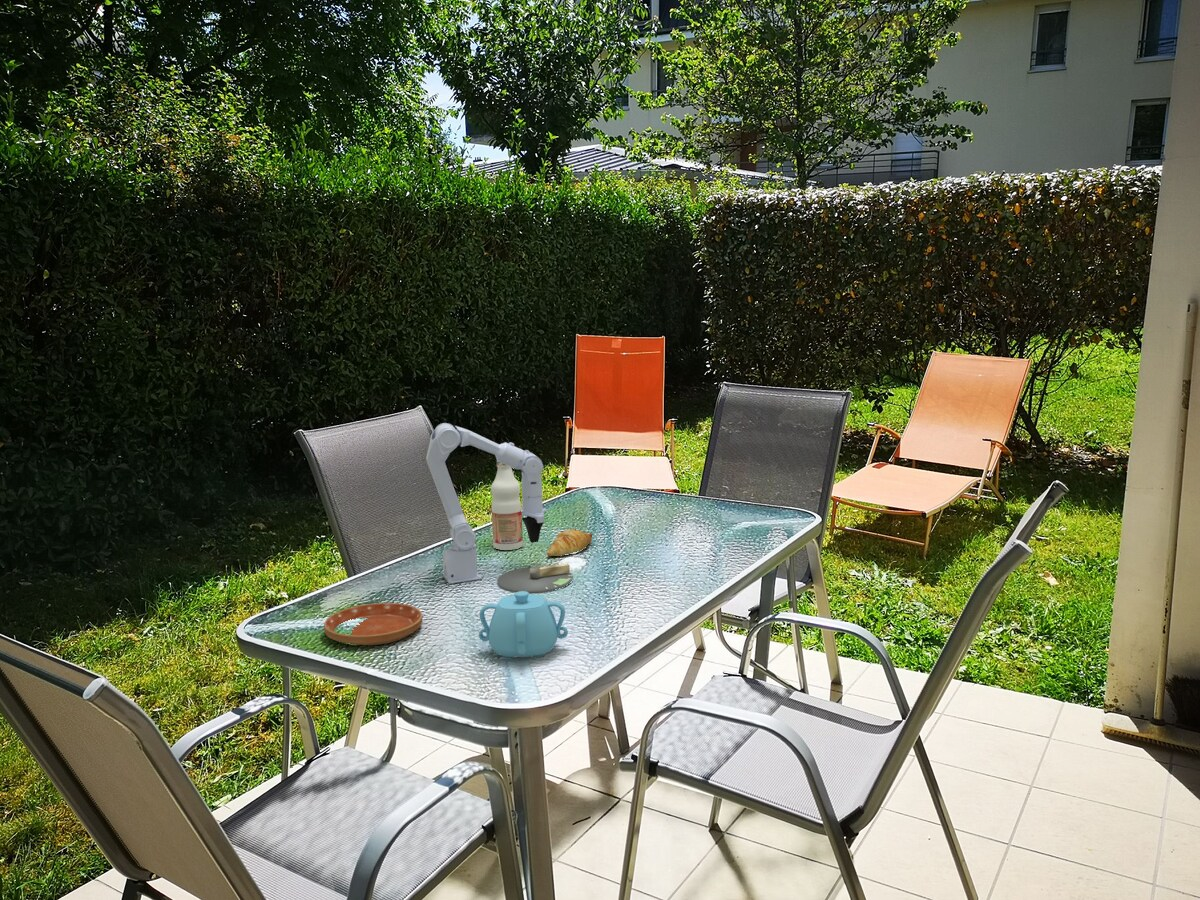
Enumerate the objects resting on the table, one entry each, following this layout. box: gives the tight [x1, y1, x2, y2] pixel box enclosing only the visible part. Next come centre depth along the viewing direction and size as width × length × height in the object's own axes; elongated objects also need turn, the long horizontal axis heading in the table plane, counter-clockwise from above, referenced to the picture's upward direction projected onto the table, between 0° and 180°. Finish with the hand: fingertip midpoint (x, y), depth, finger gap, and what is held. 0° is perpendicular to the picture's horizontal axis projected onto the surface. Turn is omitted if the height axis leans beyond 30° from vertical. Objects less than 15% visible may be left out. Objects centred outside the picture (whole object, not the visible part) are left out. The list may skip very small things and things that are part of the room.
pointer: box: [530, 563, 571, 578], centre depth 254 cm, size 11×3×2 cm, turn 112°
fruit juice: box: [490, 460, 524, 550], centre depth 284 cm, size 9×9×28 cm
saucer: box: [323, 602, 423, 646], centre depth 217 cm, size 23×23×4 cm
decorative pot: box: [478, 591, 569, 660], centre depth 203 cm, size 16×16×14 cm
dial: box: [496, 566, 574, 594], centre depth 252 cm, size 21×21×1 cm
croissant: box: [546, 528, 593, 557], centre depth 281 cm, size 21×10×8 cm, turn 144°
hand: (534, 541), depth 261 cm, fingers closed
